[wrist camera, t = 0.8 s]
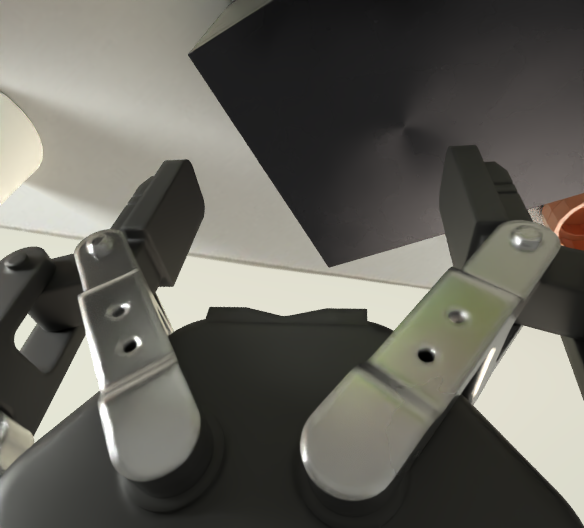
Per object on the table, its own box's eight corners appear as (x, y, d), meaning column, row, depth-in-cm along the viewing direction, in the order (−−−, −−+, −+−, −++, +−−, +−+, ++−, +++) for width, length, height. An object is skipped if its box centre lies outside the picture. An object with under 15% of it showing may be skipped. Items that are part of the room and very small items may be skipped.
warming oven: (502, -179, 18) (577, -195, 12) (538, 118, 27) (591, 191, 21) (227, 6, 24) (187, 54, 18) (332, 195, 34) (328, 267, 28)
